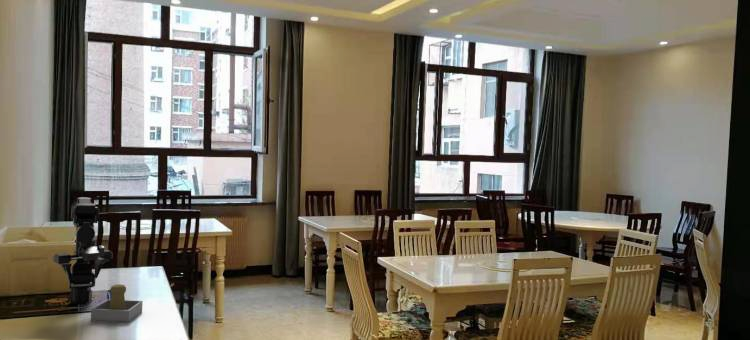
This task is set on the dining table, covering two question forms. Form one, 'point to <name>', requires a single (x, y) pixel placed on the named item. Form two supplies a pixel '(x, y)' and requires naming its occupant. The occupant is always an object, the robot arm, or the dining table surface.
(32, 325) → the dining table surface
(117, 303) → the cork
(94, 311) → the bin
